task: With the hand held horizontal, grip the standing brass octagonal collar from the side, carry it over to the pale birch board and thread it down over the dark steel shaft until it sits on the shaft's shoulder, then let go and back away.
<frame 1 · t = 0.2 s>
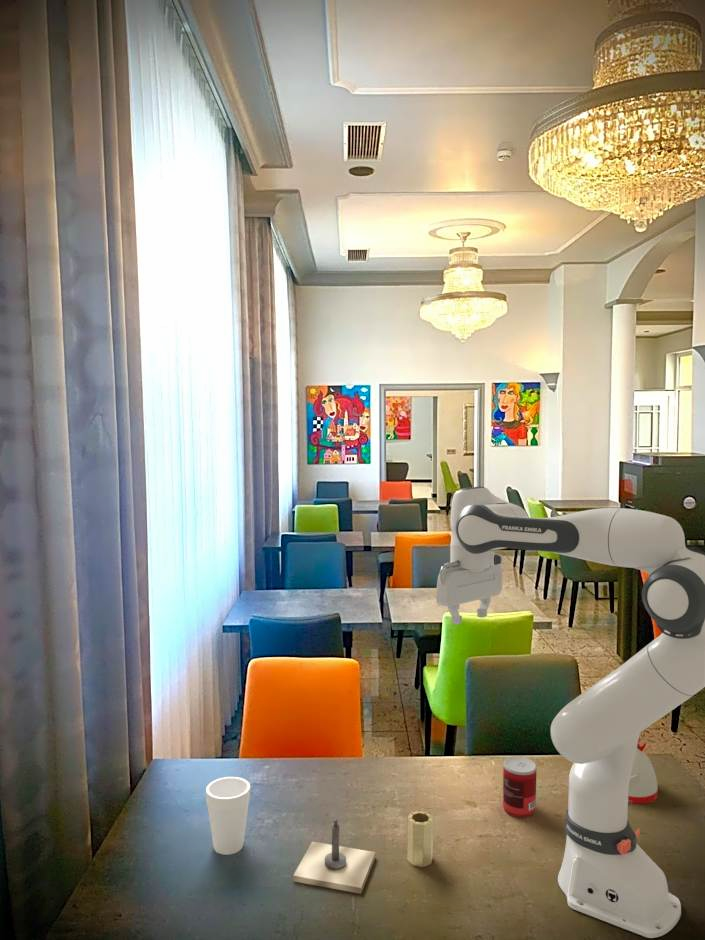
hand: (469, 620, 158), 47 cm above the table, tool pointing down, fingers open, 8 cm apart
shaft stand: (335, 869, 144), on the table
collar: (419, 859, 148), on the table
foam cup: (228, 846, 152), on the table
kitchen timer: (627, 789, 177), on the table
canned food: (519, 810, 168), on the table
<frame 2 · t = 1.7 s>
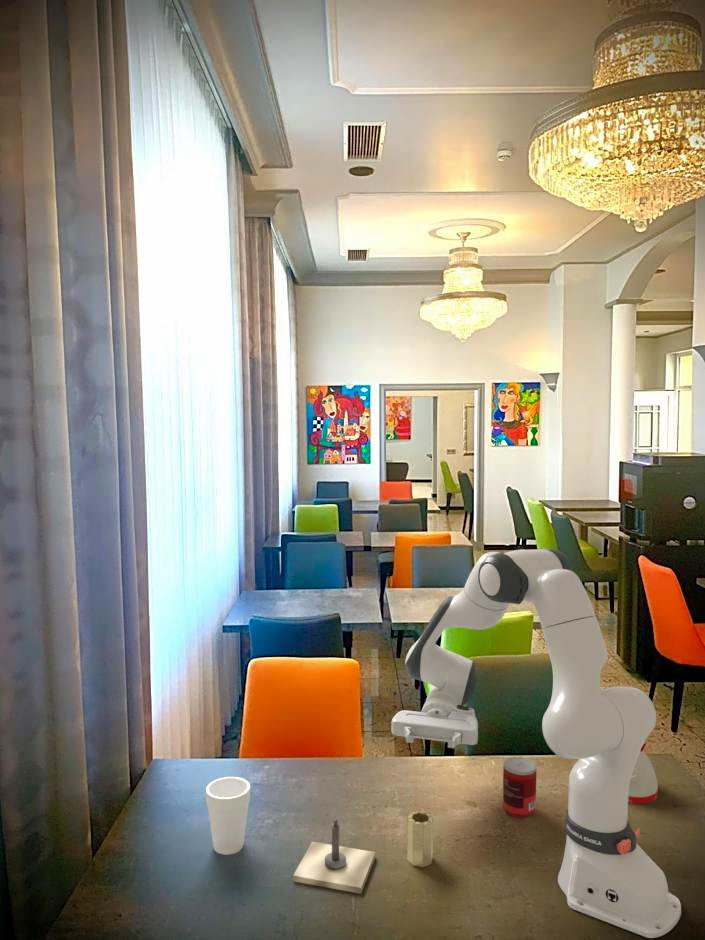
hand: (430, 742, 158), 20 cm above the table, tool horizontal, fingers open, 8 cm apart
nothing on the table moved.
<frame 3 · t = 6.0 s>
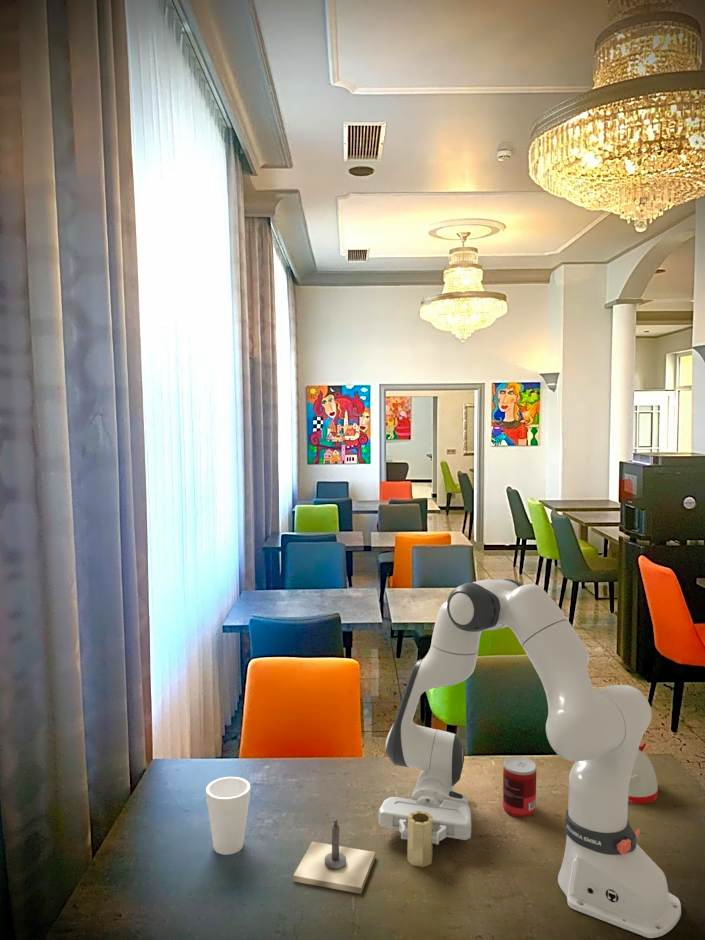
hand: (419, 838, 147), 5 cm above the table, tool horizontal, fingers closed on collar, 5 cm apart
collar: (419, 859, 148), on the table, touching gripper
everything else where it was.
when the fingers open (8 cm above the table, at t = 12.0 s): collar drops 1 cm, resting on shaft stand.
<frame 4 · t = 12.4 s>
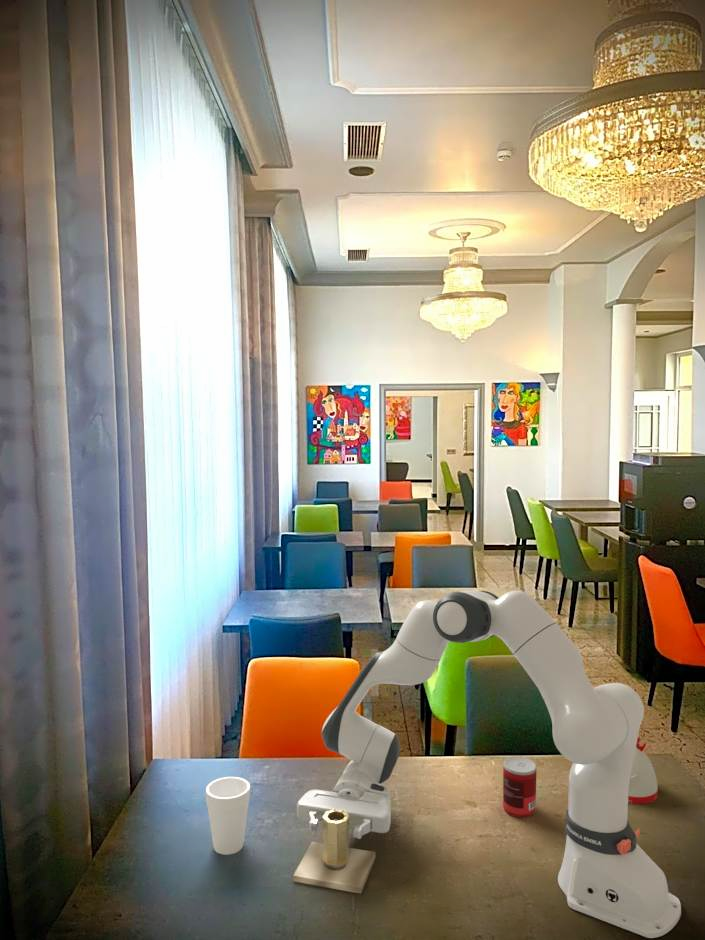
hand: (334, 831, 143), 8 cm above the table, tool horizontal, fingers open, 8 cm apart
collar: (335, 858, 144), point 2 cm above the table, touching shaft stand
everything else where it was.
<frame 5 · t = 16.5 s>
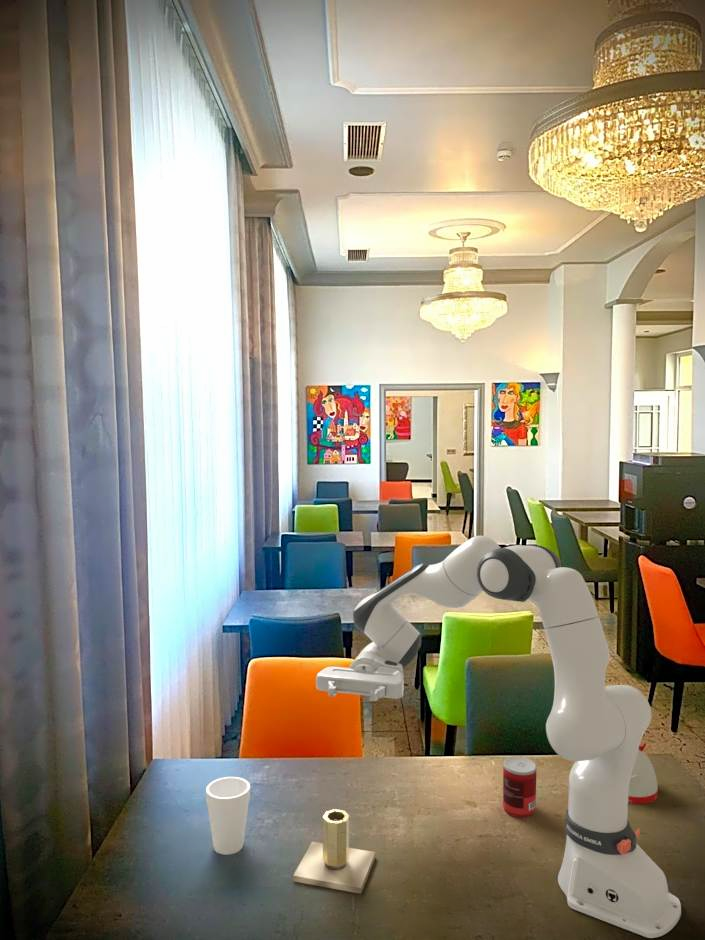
hand: (351, 695, 154), 32 cm above the table, tool horizontal, fingers open, 8 cm apart
nothing on the table moved.
at the end: collar 0.1 cm off-centre on the shaft stand, point 2.2 cm above the shaft stand's base; collar tilted 0°; the gripper is holding nothing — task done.
